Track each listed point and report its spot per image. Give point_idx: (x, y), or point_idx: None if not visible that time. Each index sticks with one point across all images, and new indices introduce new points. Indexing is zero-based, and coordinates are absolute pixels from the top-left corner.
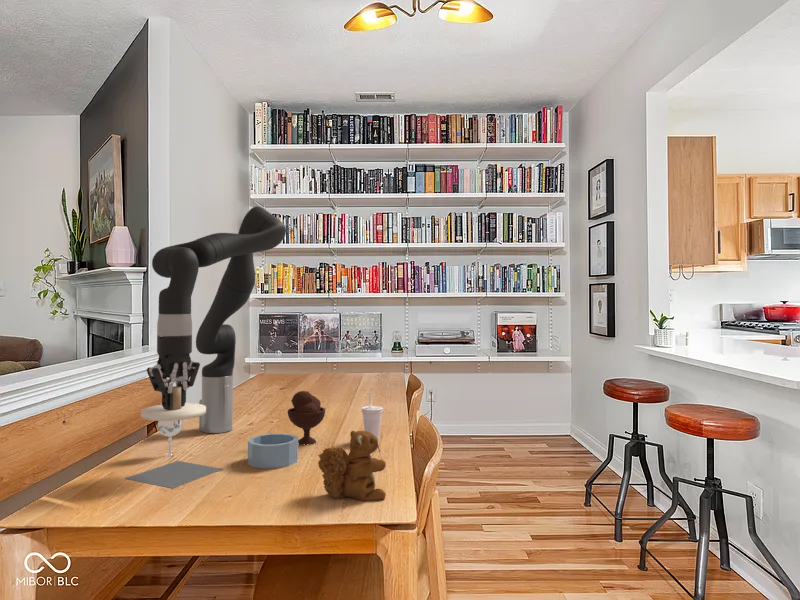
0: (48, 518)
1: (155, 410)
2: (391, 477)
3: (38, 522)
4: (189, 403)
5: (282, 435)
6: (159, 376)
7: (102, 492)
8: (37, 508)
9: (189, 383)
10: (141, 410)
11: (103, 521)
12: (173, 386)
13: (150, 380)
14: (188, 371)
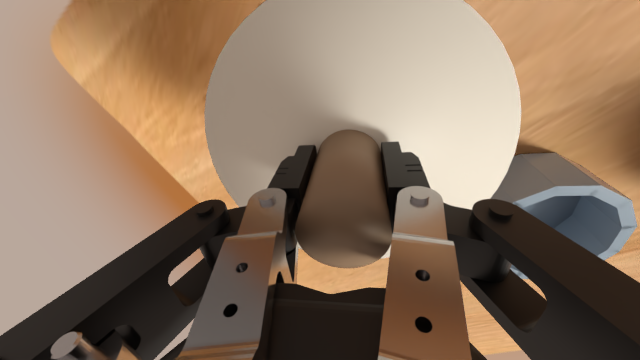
0: (107, 94)
1: (272, 117)
2: (488, 343)
3: (93, 97)
4: (509, 110)
5: (617, 228)
6: (141, 354)
7: (203, 44)
8: (86, 21)
9: (461, 278)
10: (223, 51)
11: (172, 172)
12: (368, 206)
13: (111, 261)
14: (600, 354)
